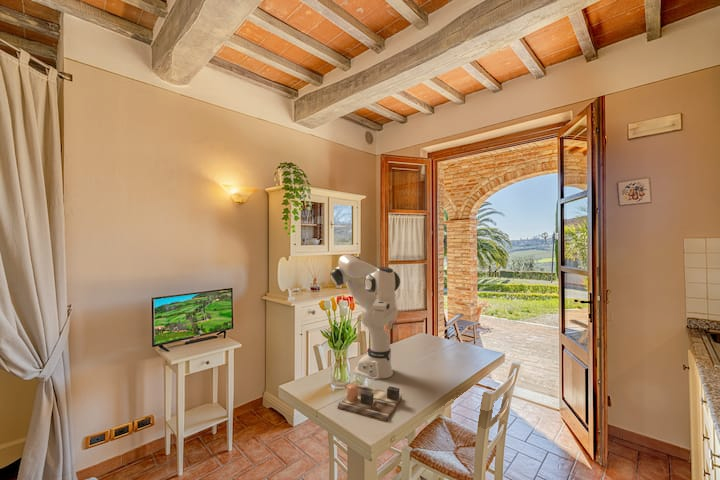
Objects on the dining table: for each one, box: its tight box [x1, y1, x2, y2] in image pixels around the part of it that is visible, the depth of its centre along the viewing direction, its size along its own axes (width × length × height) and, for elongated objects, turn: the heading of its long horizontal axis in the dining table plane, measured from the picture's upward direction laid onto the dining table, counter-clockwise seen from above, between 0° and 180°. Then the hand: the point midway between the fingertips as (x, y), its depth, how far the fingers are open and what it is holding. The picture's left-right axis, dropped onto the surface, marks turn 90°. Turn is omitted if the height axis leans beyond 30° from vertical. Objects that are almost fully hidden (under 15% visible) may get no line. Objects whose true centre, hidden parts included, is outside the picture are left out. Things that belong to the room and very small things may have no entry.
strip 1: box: [340, 391, 375, 409], centre depth 143 cm, size 14×7×6 cm, turn 64°
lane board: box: [337, 384, 403, 422], centre depth 145 cm, size 24×20×2 cm
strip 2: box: [372, 385, 401, 405], centre depth 147 cm, size 14×7×6 cm, turn 64°
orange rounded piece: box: [346, 383, 358, 402], centre depth 144 cm, size 5×5×6 cm
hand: (386, 331), depth 145 cm, fingers open, 8 cm apart
